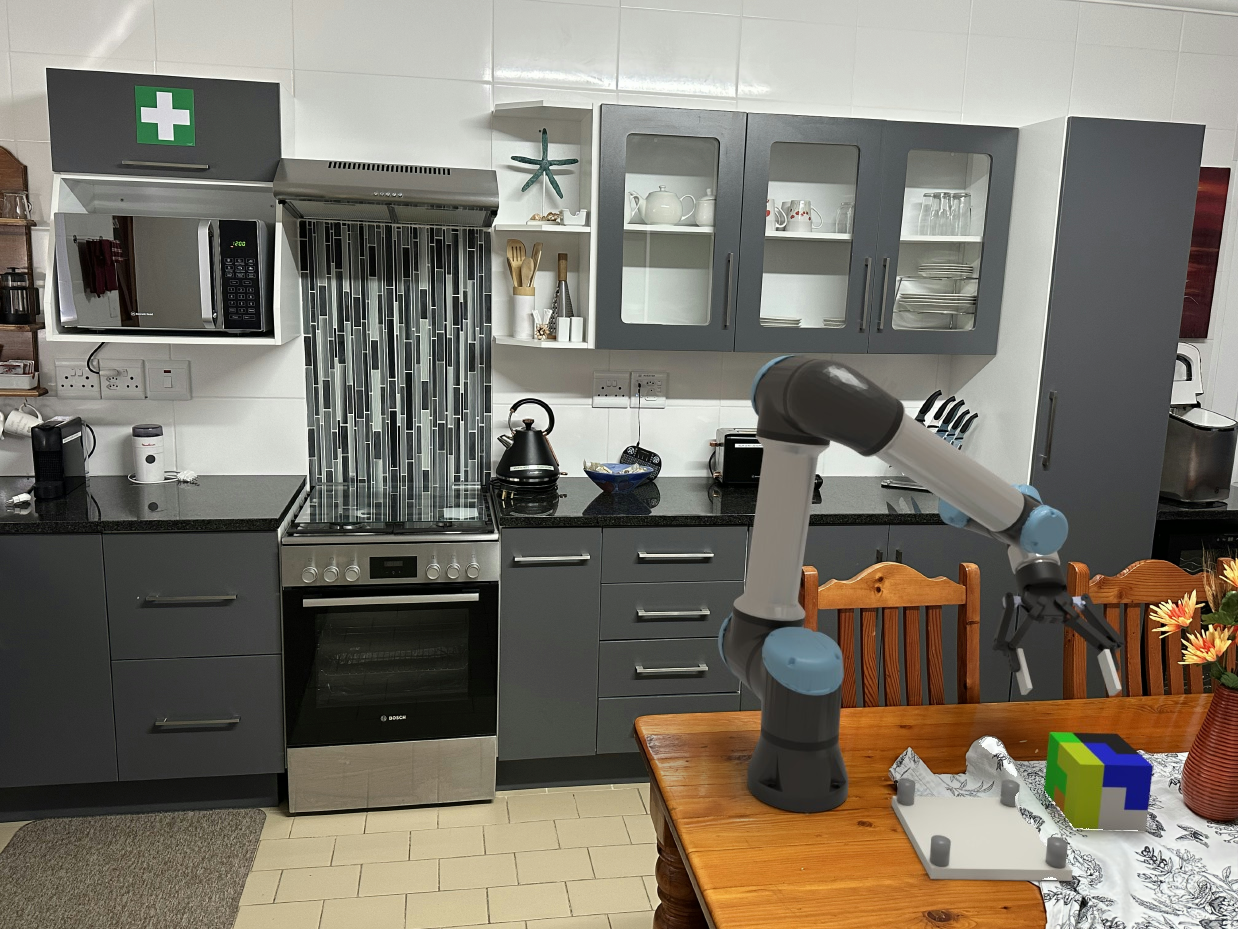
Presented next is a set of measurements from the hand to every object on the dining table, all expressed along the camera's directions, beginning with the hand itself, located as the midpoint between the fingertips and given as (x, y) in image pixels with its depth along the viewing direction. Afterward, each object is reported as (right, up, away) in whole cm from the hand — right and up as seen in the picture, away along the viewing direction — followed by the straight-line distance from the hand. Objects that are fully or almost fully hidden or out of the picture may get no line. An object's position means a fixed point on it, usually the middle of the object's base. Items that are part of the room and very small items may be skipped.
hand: (1071, 692), depth 145 cm
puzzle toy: (-1, -16, -8) cm, 18 cm away
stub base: (-21, -17, -15) cm, 31 cm away
